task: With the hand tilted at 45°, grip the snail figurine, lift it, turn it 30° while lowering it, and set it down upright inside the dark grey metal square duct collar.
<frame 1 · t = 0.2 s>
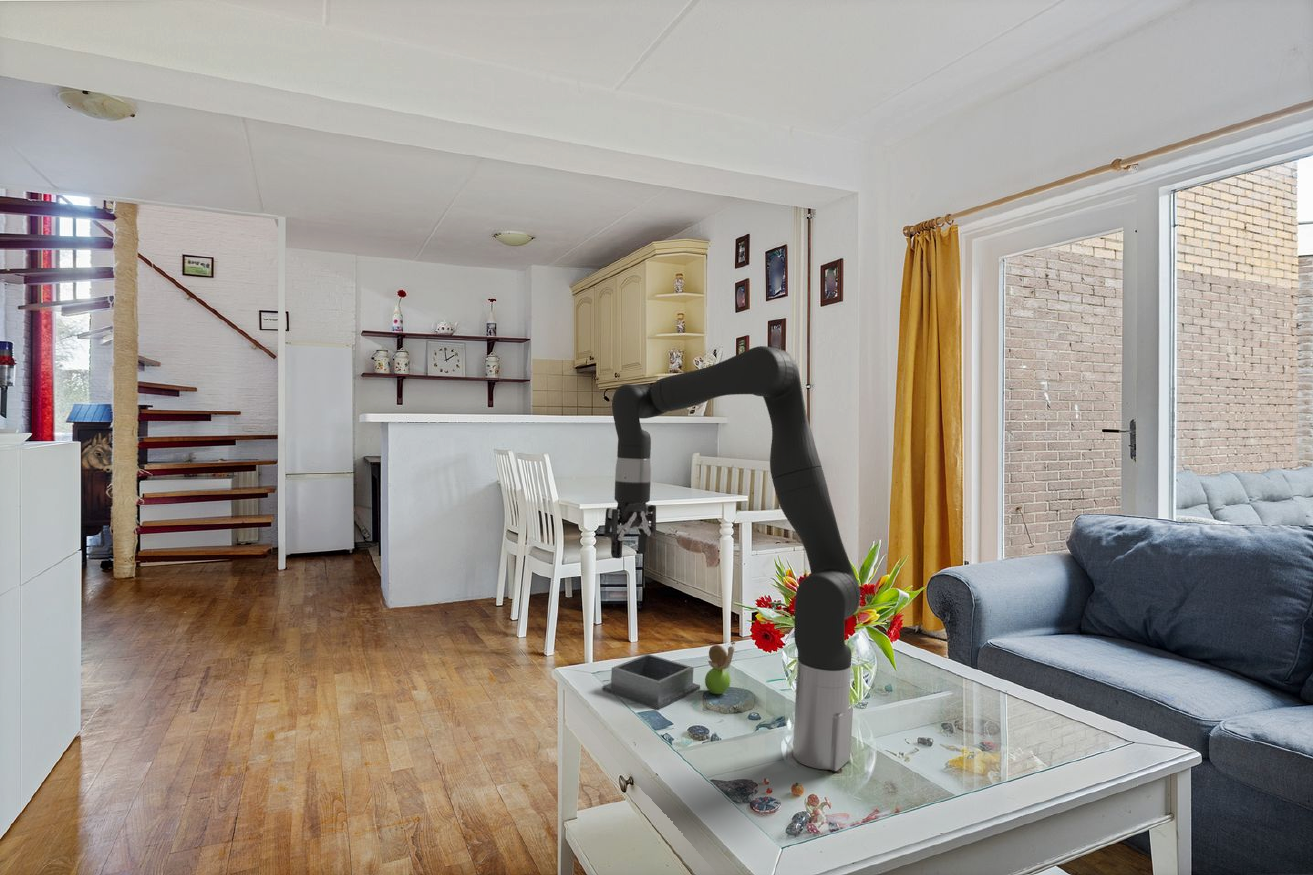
hand: (629, 555, 157), 29 cm above the table, tool pointing down, fingers open, 8 cm apart
snail figurine: (718, 694, 159), on the table
duct collar: (651, 689, 159), on the table
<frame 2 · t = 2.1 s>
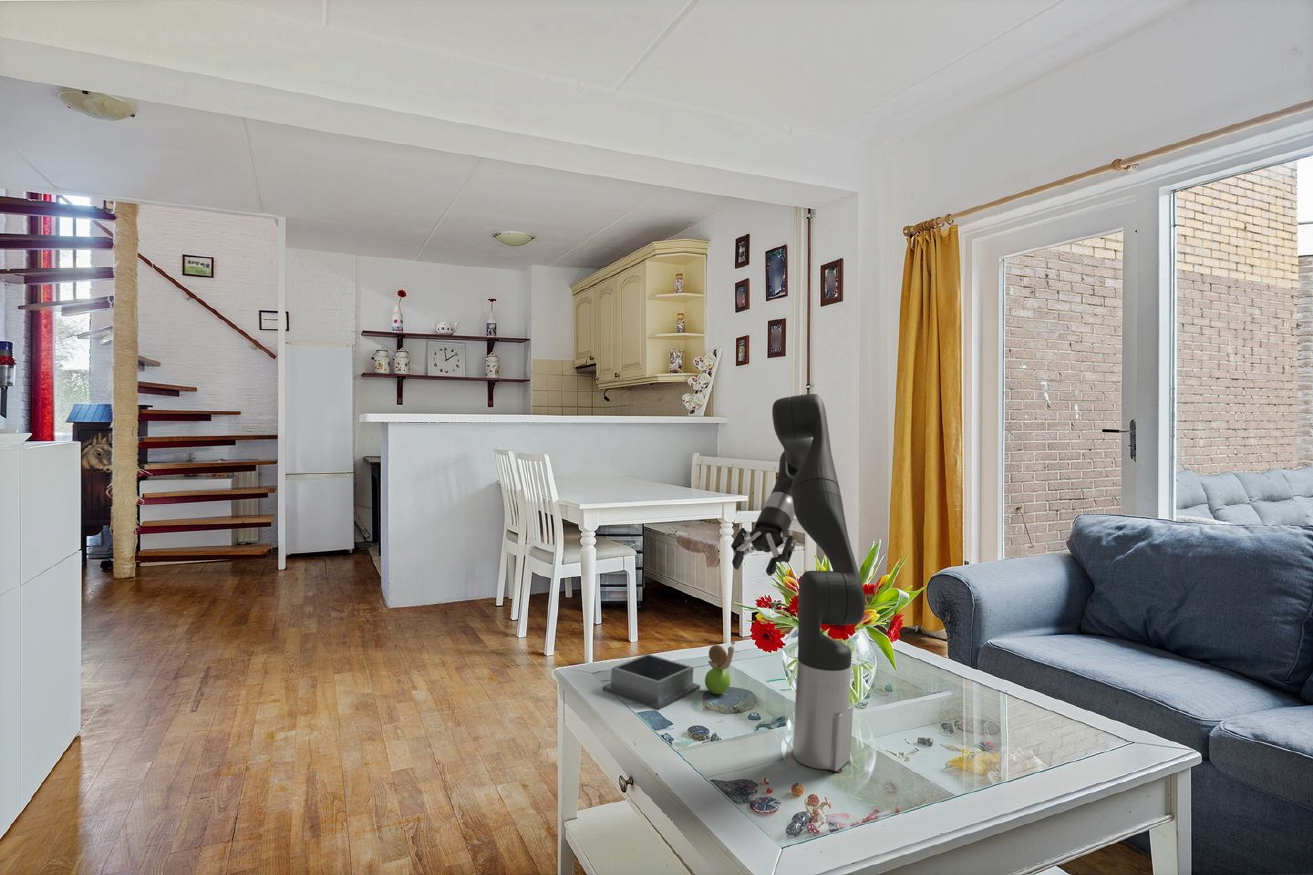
hand: (751, 570, 168), 25 cm above the table, tool tilted 45°, fingers open, 8 cm apart
nothing on the table moved.
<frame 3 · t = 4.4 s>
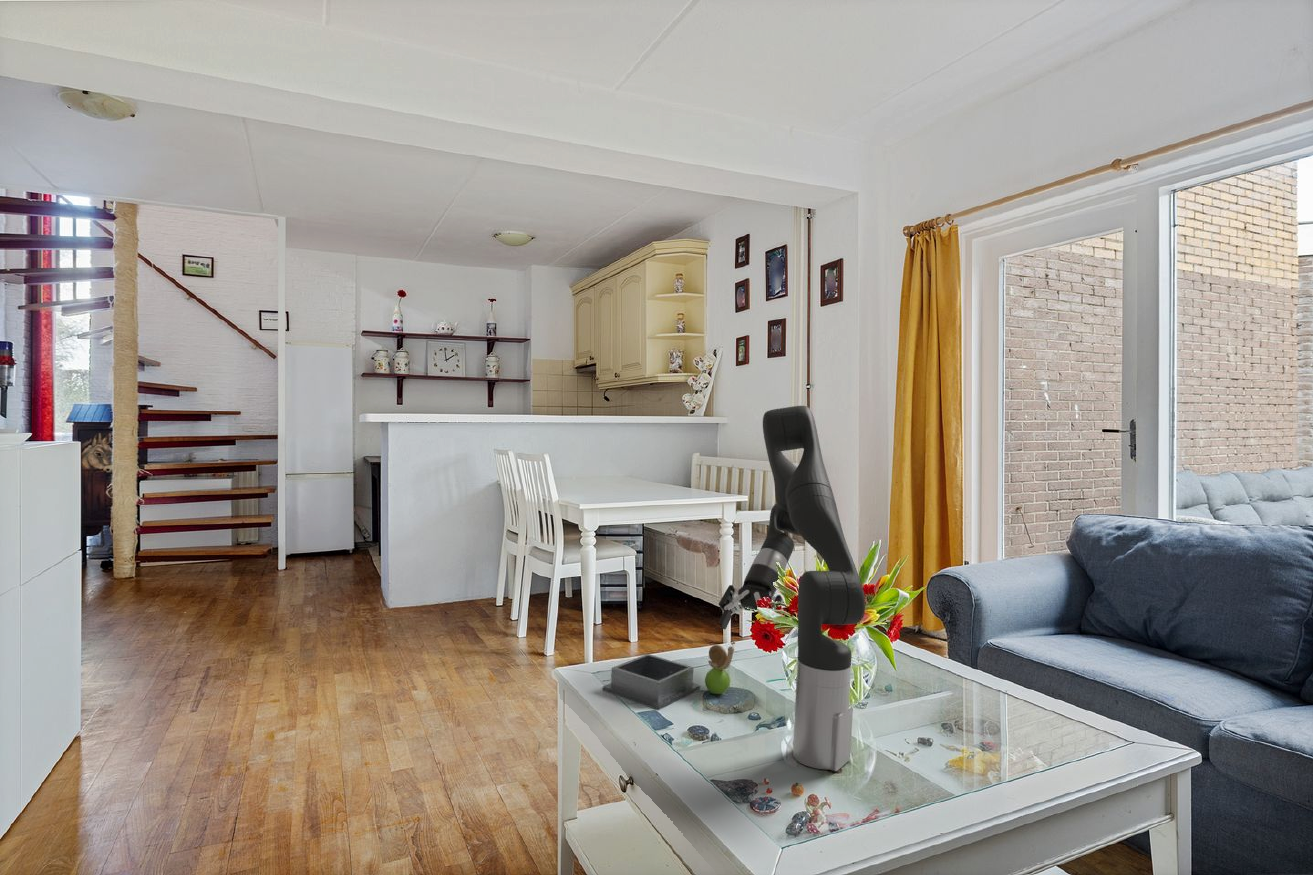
hand: (738, 631, 164), 12 cm above the table, tool tilted 45°, fingers open, 8 cm apart
nothing on the table moved.
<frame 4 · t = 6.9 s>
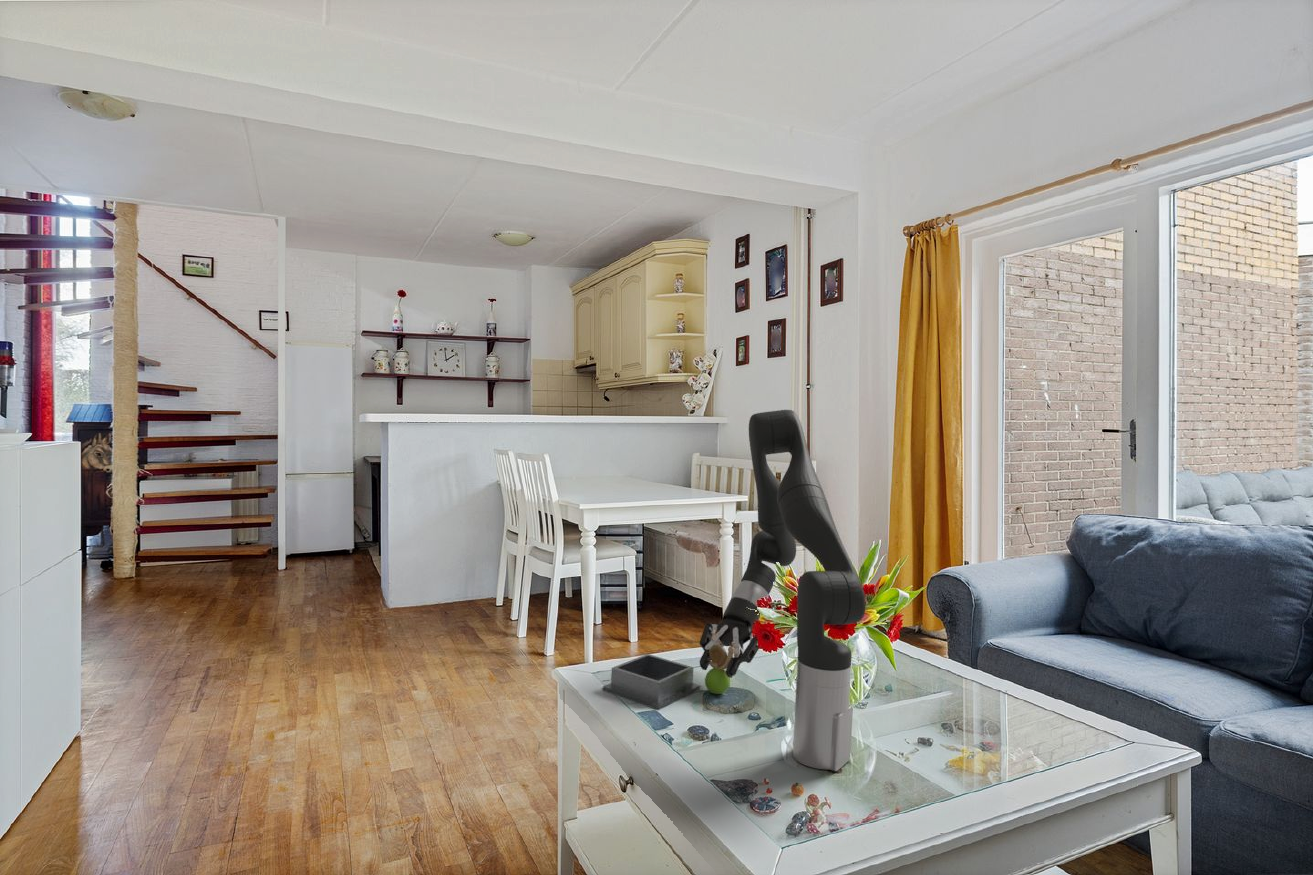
hand: (715, 671, 157), 5 cm above the table, tool tilted 45°, fingers closed on snail figurine, 5 cm apart
snail figurine: (718, 694, 159), on the table, touching gripper
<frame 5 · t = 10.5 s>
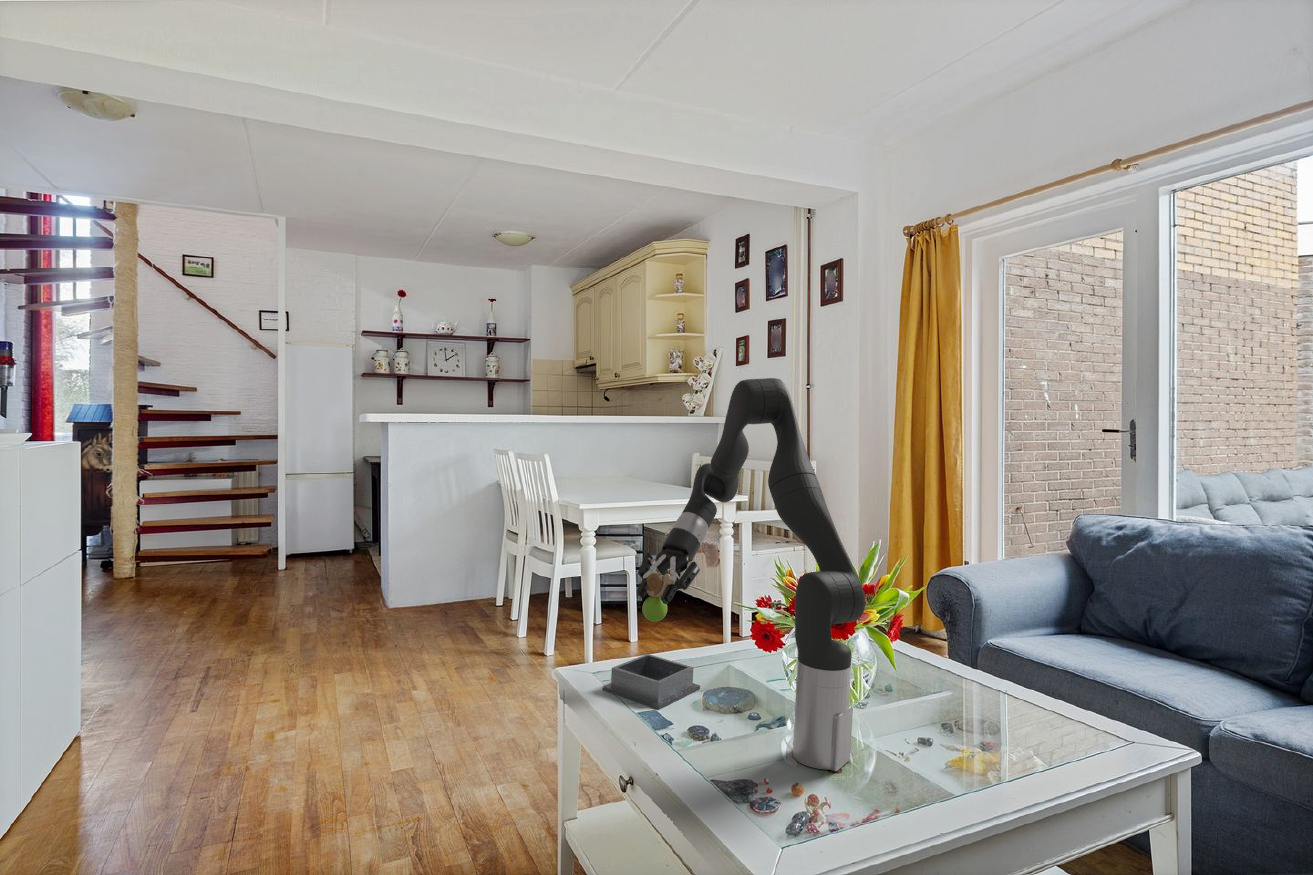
hand: (651, 598, 157), 20 cm above the table, tool tilted 45°, fingers closed on snail figurine, 6 cm apart
snail figurine: (656, 622, 159), point 15 cm above the table, touching gripper
when the fingers open (8 cm above the table, at t = 14.0 s): snail figurine drops 1 cm, resting on duct collar.
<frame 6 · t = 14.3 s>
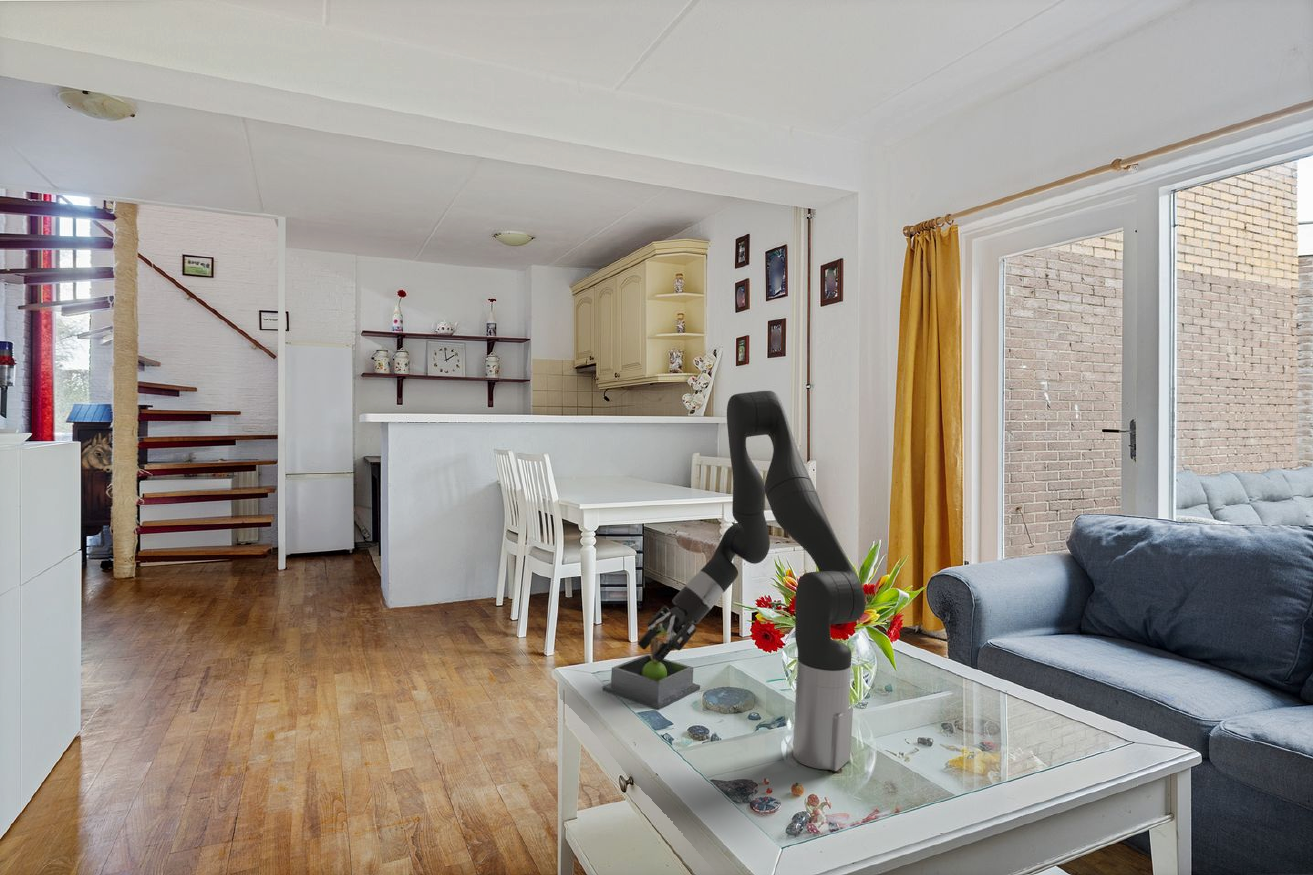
hand: (647, 652, 158), 8 cm above the table, tool tilted 45°, fingers open, 8 cm apart
snail figurine: (654, 687, 159), point 1 cm above the table, touching duct collar, gripper
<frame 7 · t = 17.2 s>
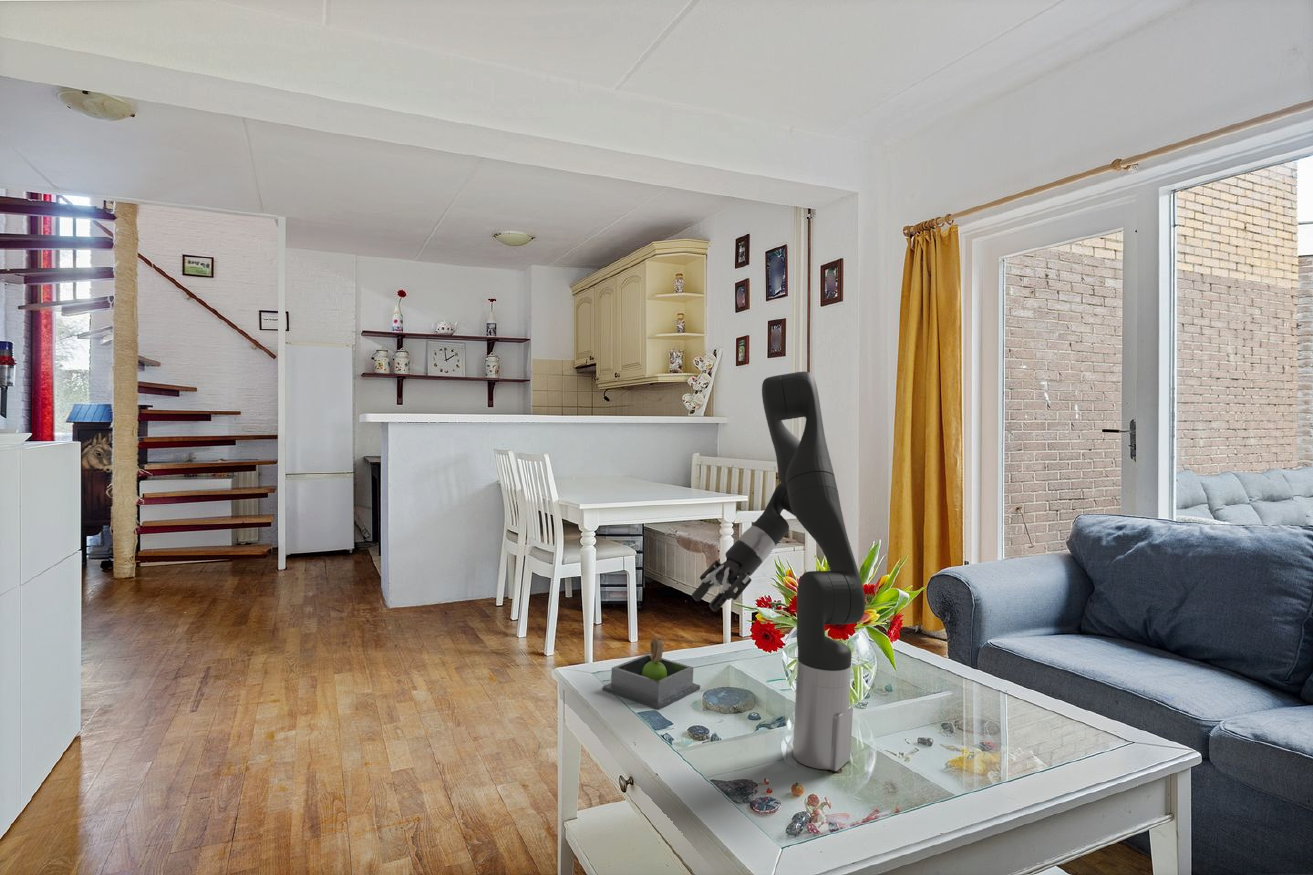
hand: (703, 603, 163), 18 cm above the table, tool tilted 45°, fingers open, 8 cm apart
snail figurine: (654, 687, 159), point 1 cm above the table, touching duct collar
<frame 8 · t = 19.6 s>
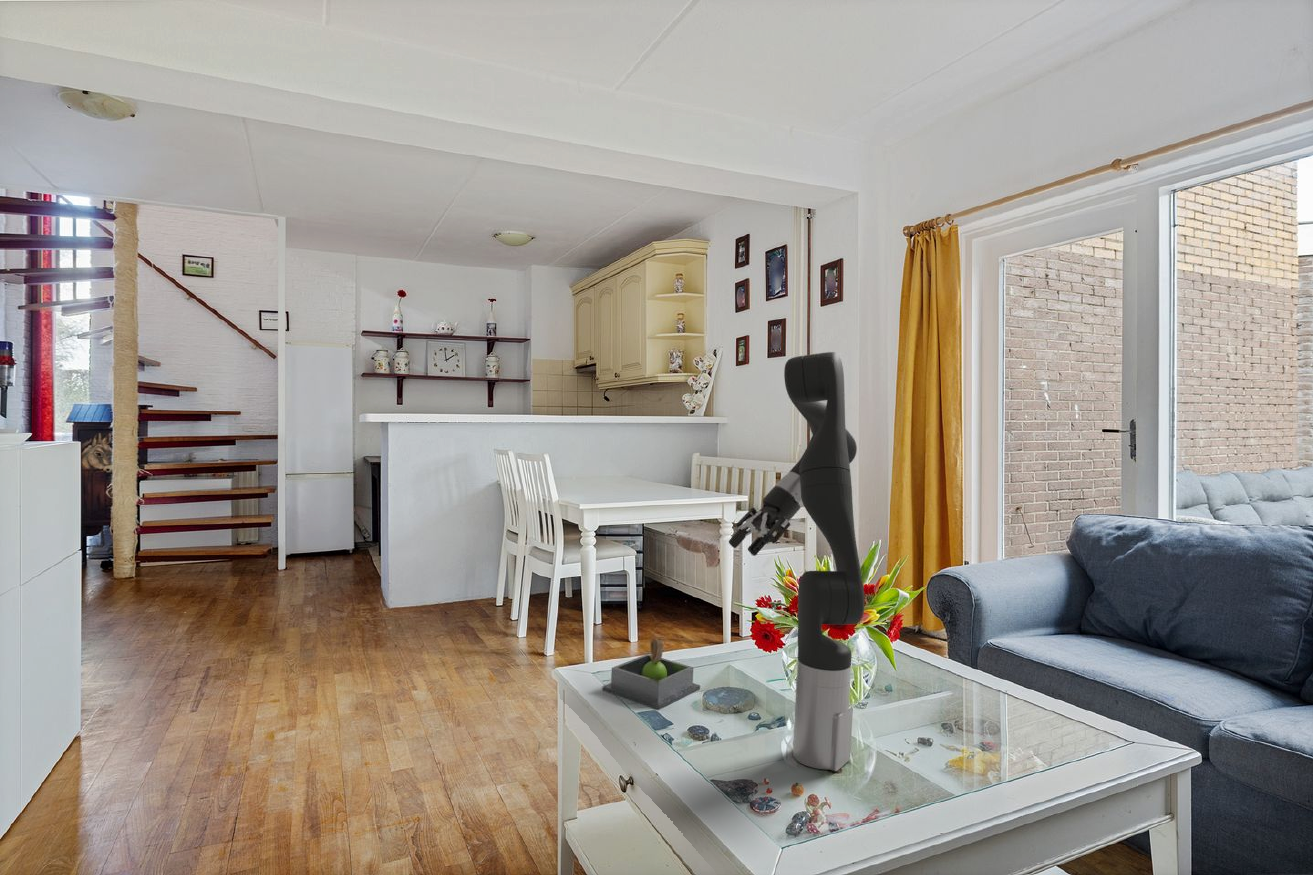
hand: (740, 548, 162), 31 cm above the table, tool tilted 45°, fingers open, 8 cm apart
nothing on the table moved.
at the end: snail figurine 0.8 cm off-centre on the duct collar, point 0.6 cm above the duct collar's base; snail figurine tilted 0°; the gripper is holding nothing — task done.
